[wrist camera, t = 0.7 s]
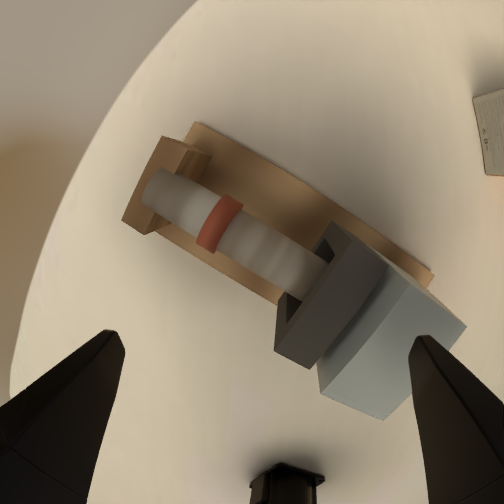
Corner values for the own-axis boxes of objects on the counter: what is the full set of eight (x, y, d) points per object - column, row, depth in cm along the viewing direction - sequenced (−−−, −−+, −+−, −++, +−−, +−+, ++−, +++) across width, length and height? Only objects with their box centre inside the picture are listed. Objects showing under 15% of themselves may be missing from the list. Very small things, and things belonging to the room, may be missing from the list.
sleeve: (413, 277, 17) (467, 326, 10) (358, 349, 19) (383, 420, 12) (366, 244, 17) (410, 283, 10) (311, 322, 19) (320, 393, 12)
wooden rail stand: (430, 272, 20) (477, 308, 13) (369, 353, 22) (391, 410, 15) (198, 123, 19) (158, 100, 13) (146, 221, 21) (93, 240, 15)
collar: (358, 237, 18) (389, 265, 12) (304, 315, 19) (309, 369, 13) (331, 220, 18) (352, 240, 12) (278, 300, 19) (273, 350, 13)
